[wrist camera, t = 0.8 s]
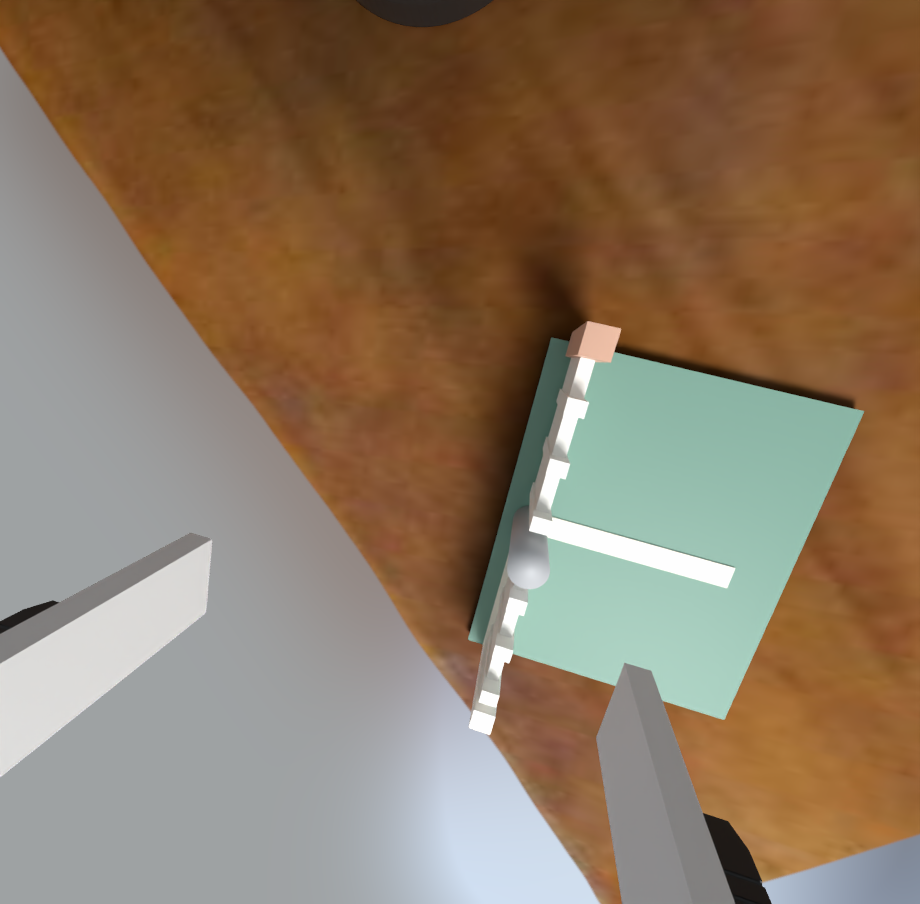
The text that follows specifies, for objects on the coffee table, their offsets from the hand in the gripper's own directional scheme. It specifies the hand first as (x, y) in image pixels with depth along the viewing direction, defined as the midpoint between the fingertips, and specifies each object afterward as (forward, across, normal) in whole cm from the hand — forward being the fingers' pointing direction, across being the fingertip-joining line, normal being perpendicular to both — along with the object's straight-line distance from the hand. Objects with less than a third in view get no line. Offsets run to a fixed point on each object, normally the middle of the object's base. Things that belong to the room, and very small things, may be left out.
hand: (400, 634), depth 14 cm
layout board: (+20, +12, -2) cm, 24 cm away
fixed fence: (+20, +4, -8) cm, 22 cm away
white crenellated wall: (+19, +5, +5) cm, 21 cm away
